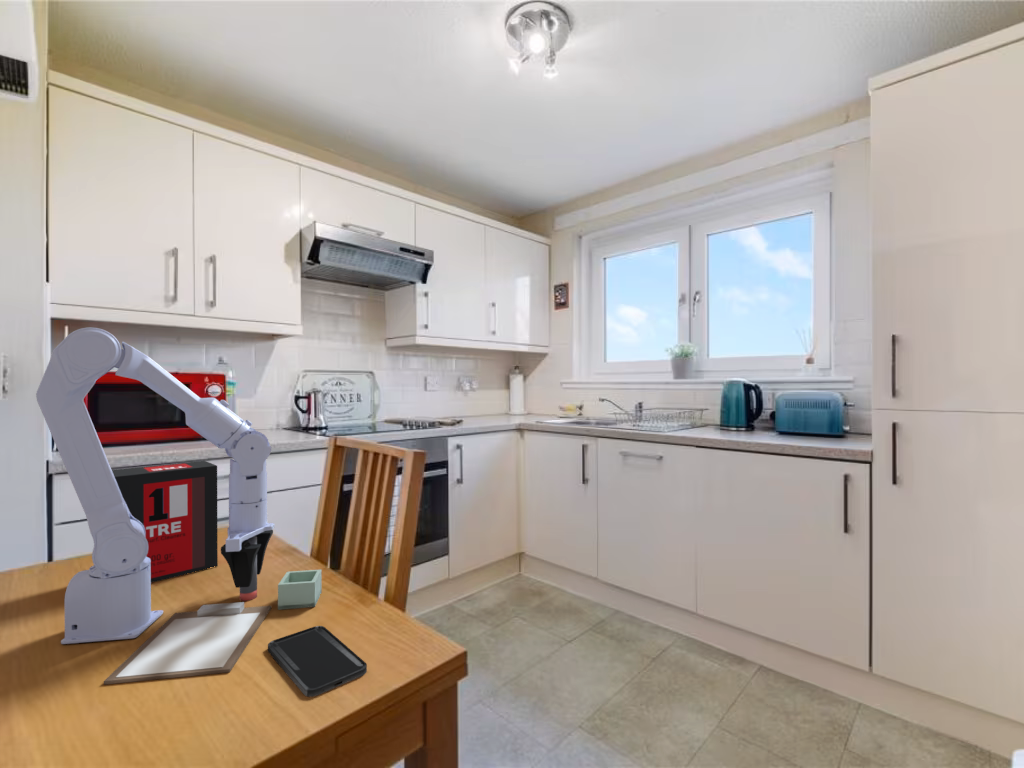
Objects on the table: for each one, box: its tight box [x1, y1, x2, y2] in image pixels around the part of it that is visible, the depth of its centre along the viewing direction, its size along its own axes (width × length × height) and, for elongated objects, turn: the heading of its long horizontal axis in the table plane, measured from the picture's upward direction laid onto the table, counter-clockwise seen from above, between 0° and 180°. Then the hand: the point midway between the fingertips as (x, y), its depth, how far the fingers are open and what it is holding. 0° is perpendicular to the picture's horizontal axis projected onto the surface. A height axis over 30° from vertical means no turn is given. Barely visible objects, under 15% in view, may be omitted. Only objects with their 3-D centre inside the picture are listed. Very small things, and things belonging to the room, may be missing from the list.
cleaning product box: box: [112, 460, 219, 584], centre depth 95 cm, size 16×9×20 cm, turn 136°
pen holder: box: [277, 568, 323, 610], centre depth 83 cm, size 6×6×4 cm
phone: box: [267, 625, 368, 698], centre depth 66 cm, size 8×1×15 cm
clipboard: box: [103, 601, 272, 685], centre depth 70 cm, size 14×18×1 cm
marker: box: [239, 536, 258, 602], centre depth 84 cm, size 3×3×10 cm
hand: (248, 580), depth 84 cm, fingers open, 5 cm apart
